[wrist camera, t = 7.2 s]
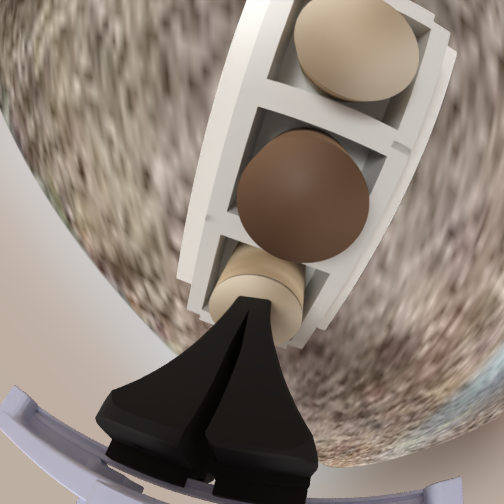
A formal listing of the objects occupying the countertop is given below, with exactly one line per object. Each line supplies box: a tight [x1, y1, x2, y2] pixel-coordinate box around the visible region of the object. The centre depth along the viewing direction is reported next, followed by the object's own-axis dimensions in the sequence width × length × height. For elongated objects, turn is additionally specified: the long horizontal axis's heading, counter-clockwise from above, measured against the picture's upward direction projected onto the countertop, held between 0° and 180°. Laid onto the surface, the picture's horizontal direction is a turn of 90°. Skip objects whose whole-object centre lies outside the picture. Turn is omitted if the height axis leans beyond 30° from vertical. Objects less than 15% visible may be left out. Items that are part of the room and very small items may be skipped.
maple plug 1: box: [209, 241, 306, 346], centre depth 13 cm, size 4×4×4 cm
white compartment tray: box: [176, 0, 457, 349], centre depth 12 cm, size 10×18×4 cm, turn 164°
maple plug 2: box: [294, 0, 419, 102], centre depth 8 cm, size 4×4×4 cm
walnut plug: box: [236, 127, 369, 263], centre depth 10 cm, size 4×4×4 cm
